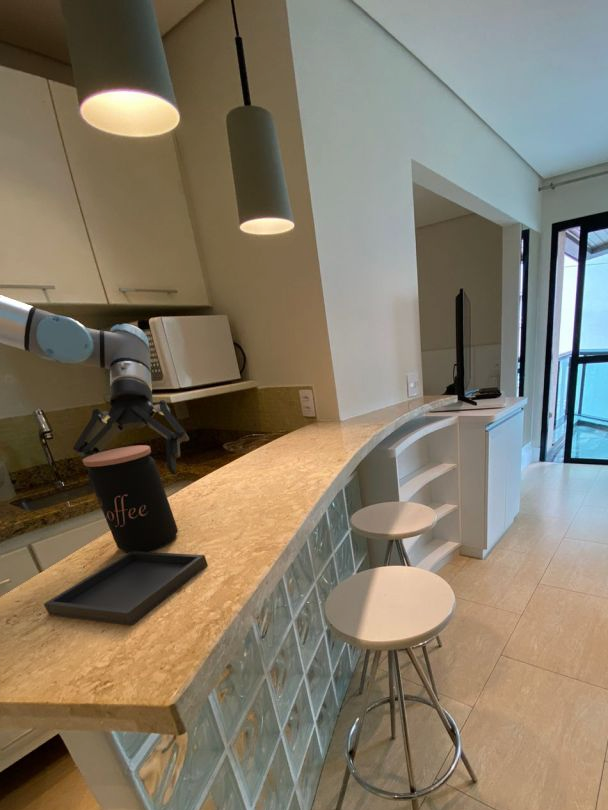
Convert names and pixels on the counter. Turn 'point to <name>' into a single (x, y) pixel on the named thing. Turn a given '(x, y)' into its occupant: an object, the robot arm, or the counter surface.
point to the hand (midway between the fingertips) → (134, 477)
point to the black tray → (127, 587)
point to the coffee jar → (132, 498)
